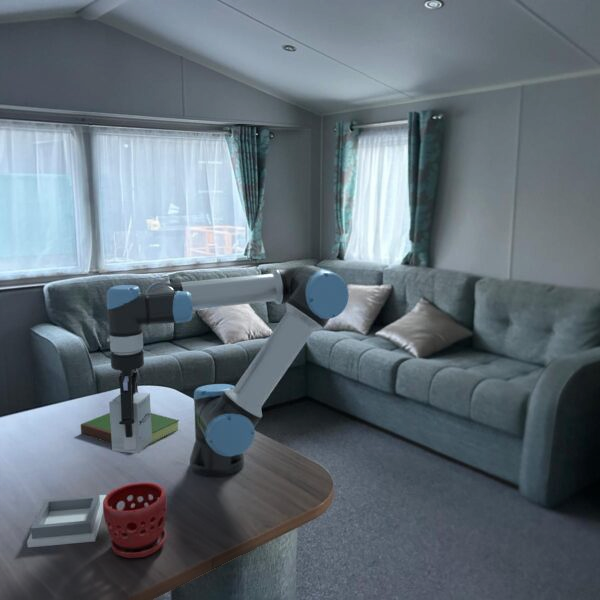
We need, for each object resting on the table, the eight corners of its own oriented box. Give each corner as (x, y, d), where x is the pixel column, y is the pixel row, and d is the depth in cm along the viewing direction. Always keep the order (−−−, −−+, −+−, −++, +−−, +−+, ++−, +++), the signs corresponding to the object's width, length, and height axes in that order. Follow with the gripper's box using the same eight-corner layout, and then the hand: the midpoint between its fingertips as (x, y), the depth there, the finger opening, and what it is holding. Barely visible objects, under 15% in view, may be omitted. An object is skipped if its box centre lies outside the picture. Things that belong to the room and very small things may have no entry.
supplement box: (140, 454, 142) (137, 403, 139) (111, 451, 143) (107, 401, 141) (153, 440, 149) (150, 392, 147) (125, 438, 150) (122, 390, 148)
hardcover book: (81, 435, 190) (80, 424, 189) (126, 416, 206) (125, 406, 205) (137, 453, 177) (137, 441, 177) (181, 431, 193) (180, 420, 192)
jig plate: (106, 500, 149) (105, 485, 149) (95, 541, 132) (93, 524, 131) (47, 505, 147) (46, 490, 146) (27, 547, 130) (26, 530, 129)
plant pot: (159, 523, 139) (156, 475, 137) (175, 553, 128) (173, 501, 126) (100, 538, 133) (97, 489, 131) (112, 571, 122) (109, 517, 119)
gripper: (116, 340, 151) (121, 424, 156) (103, 364, 131) (110, 461, 135) (146, 338, 153) (151, 422, 157) (139, 362, 132) (144, 458, 136)
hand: (132, 440), depth 146 cm, fingers closed on supplement box, 9 cm apart
